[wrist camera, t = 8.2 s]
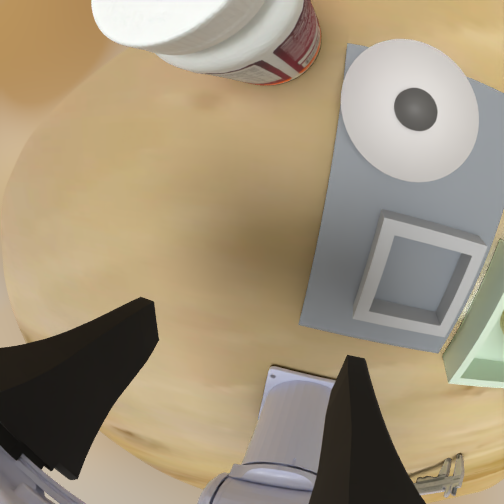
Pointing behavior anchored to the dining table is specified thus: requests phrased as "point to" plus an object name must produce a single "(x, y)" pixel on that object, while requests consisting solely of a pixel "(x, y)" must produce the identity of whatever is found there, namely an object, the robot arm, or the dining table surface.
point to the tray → (481, 334)
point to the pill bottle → (219, 35)
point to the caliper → (443, 479)
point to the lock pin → (502, 322)
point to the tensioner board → (406, 197)
